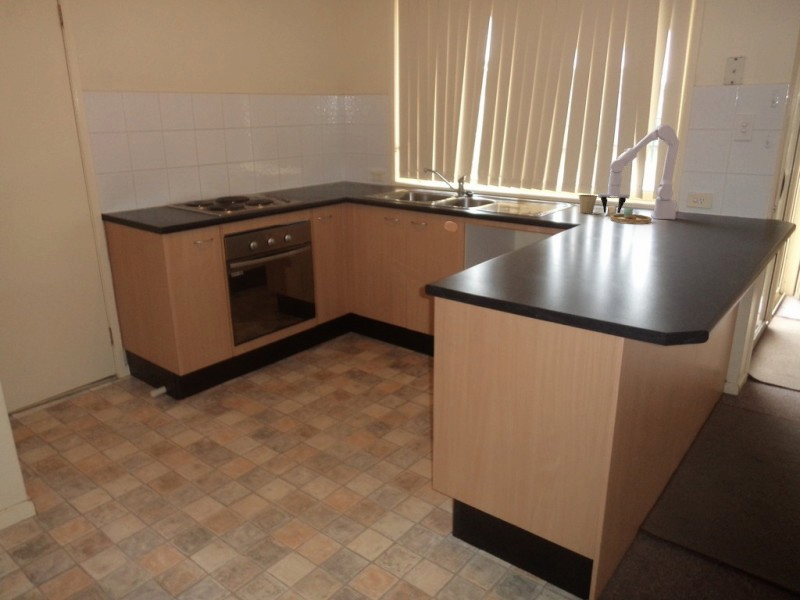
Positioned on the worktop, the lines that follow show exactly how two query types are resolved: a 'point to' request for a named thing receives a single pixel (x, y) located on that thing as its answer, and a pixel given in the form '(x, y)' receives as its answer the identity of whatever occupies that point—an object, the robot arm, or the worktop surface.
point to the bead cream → (611, 210)
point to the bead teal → (628, 211)
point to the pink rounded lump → (450, 226)
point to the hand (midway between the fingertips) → (611, 212)
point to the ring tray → (630, 219)
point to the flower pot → (587, 203)
